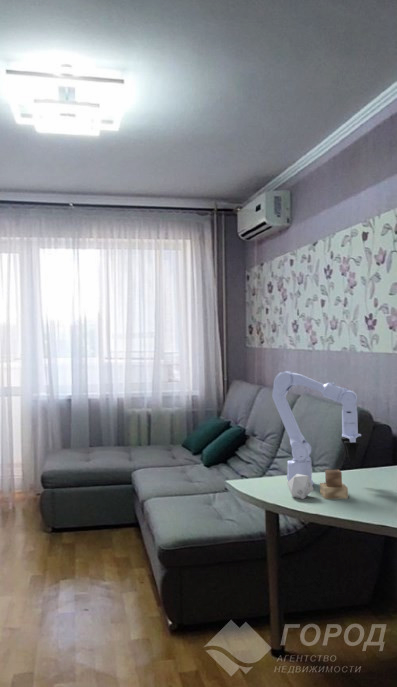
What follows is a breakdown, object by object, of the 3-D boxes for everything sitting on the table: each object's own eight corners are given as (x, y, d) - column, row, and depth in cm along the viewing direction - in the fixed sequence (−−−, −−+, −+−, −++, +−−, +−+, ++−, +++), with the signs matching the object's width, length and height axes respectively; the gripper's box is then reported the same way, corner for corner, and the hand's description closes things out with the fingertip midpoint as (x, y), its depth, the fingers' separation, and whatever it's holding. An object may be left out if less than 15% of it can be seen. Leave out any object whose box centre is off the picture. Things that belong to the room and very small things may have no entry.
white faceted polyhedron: (291, 502, 196) (308, 481, 194) (278, 486, 203) (294, 465, 201) (306, 507, 201) (322, 486, 199) (292, 490, 208) (308, 470, 206)
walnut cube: (327, 486, 200) (327, 472, 200) (325, 483, 205) (325, 469, 205) (341, 486, 200) (341, 472, 200) (339, 483, 205) (339, 469, 205)
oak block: (325, 499, 198) (324, 488, 198) (320, 493, 206) (319, 482, 206) (347, 499, 198) (347, 487, 198) (342, 493, 206) (341, 482, 206)
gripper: (363, 425, 208) (364, 462, 208) (357, 420, 222) (358, 454, 222) (344, 425, 209) (345, 462, 208) (339, 420, 223) (340, 454, 223)
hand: (350, 458), depth 215 cm, fingers open, 7 cm apart
